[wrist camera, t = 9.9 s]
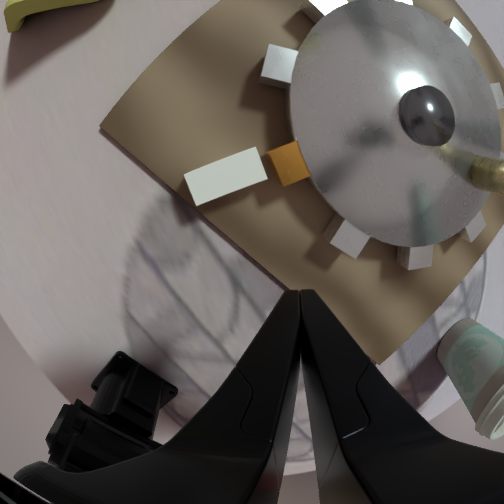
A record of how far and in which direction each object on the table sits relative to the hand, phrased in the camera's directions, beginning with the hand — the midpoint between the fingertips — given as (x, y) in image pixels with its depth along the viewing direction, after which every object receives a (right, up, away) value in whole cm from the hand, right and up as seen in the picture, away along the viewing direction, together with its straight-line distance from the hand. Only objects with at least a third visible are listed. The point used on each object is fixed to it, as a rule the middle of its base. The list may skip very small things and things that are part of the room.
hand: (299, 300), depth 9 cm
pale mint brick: (-3, +6, +10) cm, 12 cm away
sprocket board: (+10, +11, +9) cm, 17 cm away
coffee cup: (+21, -8, +17) cm, 28 cm away
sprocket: (+10, +11, +9) cm, 17 cm away
